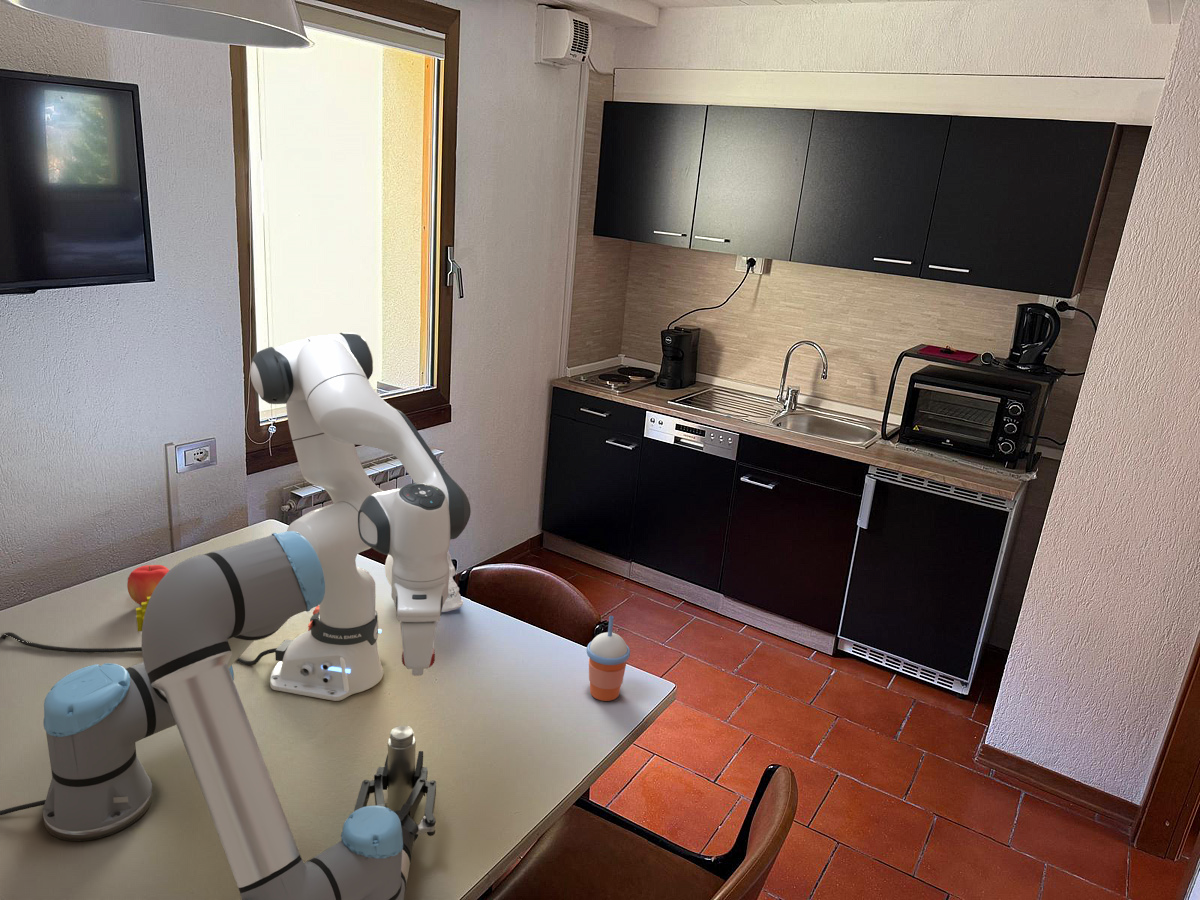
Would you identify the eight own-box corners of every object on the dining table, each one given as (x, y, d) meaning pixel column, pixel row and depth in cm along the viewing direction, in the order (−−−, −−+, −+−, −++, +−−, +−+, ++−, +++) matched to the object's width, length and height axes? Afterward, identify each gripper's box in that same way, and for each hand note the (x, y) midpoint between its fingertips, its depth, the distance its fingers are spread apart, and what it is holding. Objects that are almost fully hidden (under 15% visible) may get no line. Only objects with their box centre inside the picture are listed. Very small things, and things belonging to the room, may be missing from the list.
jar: (389, 800, 145) (389, 723, 141) (415, 800, 146) (417, 723, 141) (385, 818, 141) (386, 740, 136) (412, 818, 141) (414, 740, 137)
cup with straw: (621, 709, 175) (629, 631, 170) (578, 700, 177) (585, 623, 172) (629, 685, 184) (636, 610, 179) (588, 677, 185) (594, 603, 180)
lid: (436, 668, 137) (436, 658, 137) (403, 671, 136) (403, 661, 135) (432, 651, 142) (433, 641, 141) (400, 654, 140) (401, 644, 140)
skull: (448, 622, 203) (451, 561, 199) (372, 599, 211) (374, 540, 207) (477, 602, 215) (480, 543, 211) (405, 581, 223) (406, 524, 219)
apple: (178, 610, 199) (175, 571, 196) (132, 618, 194) (128, 578, 191) (171, 592, 207) (168, 555, 204) (127, 600, 202) (123, 562, 199)
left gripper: (323, 881, 125) (353, 775, 147) (444, 881, 126) (456, 776, 149) (322, 839, 122) (353, 738, 145) (445, 840, 124) (457, 739, 146)
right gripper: (402, 557, 144) (401, 629, 148) (396, 617, 125) (395, 699, 129) (440, 557, 145) (438, 629, 149) (440, 617, 126) (437, 698, 130)
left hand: (405, 757), depth 146 cm, fingers closed on jar, 4 cm apart
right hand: (418, 662), depth 139 cm, fingers closed on lid, 5 cm apart
